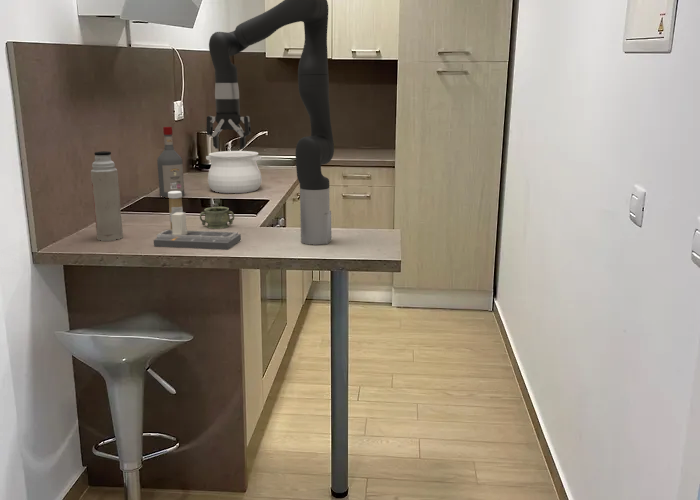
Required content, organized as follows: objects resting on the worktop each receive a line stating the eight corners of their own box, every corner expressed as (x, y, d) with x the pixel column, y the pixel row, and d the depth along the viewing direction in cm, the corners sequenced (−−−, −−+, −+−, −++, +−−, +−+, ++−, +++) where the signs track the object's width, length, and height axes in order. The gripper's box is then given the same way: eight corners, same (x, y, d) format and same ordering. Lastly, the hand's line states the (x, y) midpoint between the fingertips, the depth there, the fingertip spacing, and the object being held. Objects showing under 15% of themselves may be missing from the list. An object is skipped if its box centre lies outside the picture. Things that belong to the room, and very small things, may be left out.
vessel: (235, 223, 245) (234, 206, 243) (234, 228, 236) (233, 211, 235) (201, 224, 244) (200, 206, 242) (198, 229, 235) (197, 211, 234)
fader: (187, 233, 218) (186, 212, 217) (181, 237, 214) (179, 215, 212) (178, 233, 219) (177, 212, 217) (172, 237, 214) (170, 215, 212)
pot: (199, 194, 306) (197, 156, 302) (216, 185, 329) (214, 150, 325) (255, 195, 303) (254, 156, 299) (268, 186, 326) (267, 150, 322)
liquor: (186, 197, 298) (182, 127, 290) (166, 199, 292) (161, 128, 285) (177, 194, 305) (173, 126, 297) (158, 196, 299) (153, 126, 292)
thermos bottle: (93, 241, 219) (84, 153, 212) (102, 235, 227) (94, 150, 220) (117, 241, 219) (110, 153, 212) (126, 235, 227) (119, 150, 220)
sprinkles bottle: (171, 229, 235) (168, 190, 232) (185, 229, 236) (182, 190, 232) (169, 232, 231) (166, 192, 228) (183, 232, 231) (180, 192, 228)
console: (240, 240, 219) (240, 230, 219) (228, 249, 208) (227, 239, 207) (170, 237, 224) (169, 227, 223) (153, 246, 212) (153, 236, 211)
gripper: (252, 97, 221) (254, 147, 225) (210, 97, 224) (213, 147, 228) (244, 98, 214) (246, 150, 218) (201, 97, 217) (204, 149, 221)
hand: (229, 148), depth 223 cm, fingers open, 8 cm apart
